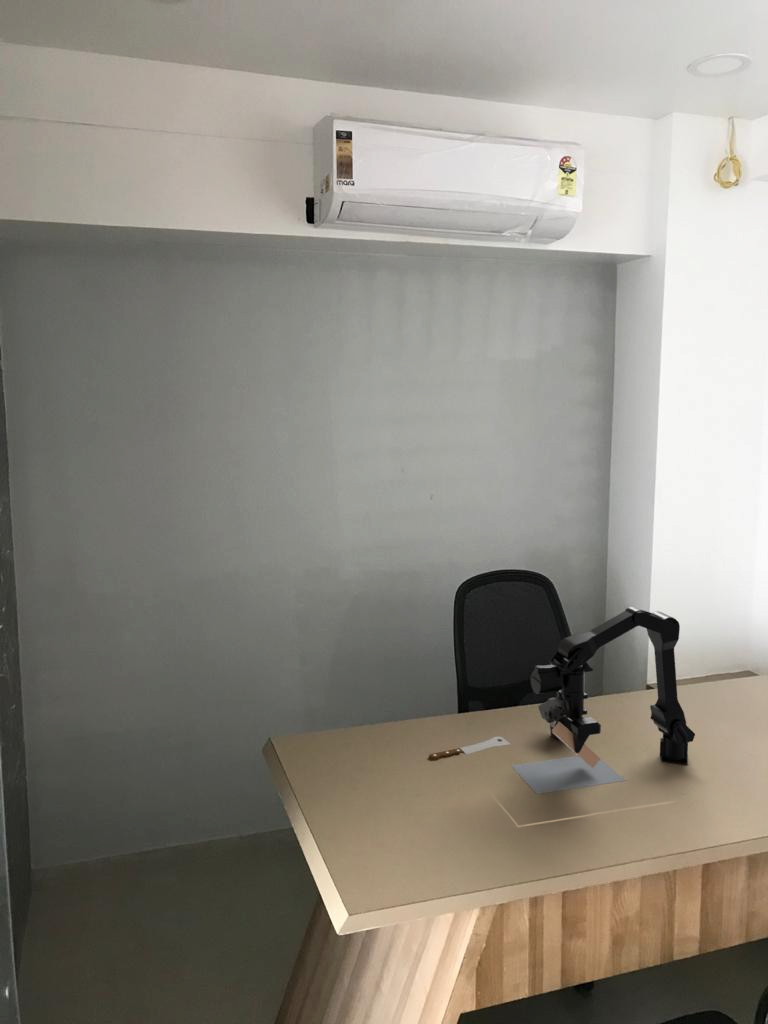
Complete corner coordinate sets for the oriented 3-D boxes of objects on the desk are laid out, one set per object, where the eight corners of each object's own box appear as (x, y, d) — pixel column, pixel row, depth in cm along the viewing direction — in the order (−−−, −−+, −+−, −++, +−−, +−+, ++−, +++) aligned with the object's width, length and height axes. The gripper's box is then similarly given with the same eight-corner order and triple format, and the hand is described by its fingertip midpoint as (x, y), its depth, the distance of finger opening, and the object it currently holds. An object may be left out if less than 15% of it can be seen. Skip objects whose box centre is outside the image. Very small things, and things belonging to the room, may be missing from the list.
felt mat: (594, 754, 231) (594, 753, 231) (626, 781, 216) (626, 780, 216) (510, 766, 225) (510, 765, 225) (537, 795, 210) (537, 793, 210)
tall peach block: (589, 749, 224) (559, 721, 221) (600, 758, 219) (569, 730, 215) (581, 759, 224) (550, 731, 220) (592, 768, 219) (560, 739, 215)
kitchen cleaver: (442, 768, 224) (424, 750, 233) (442, 771, 224) (424, 754, 233) (522, 750, 234) (501, 735, 243) (521, 754, 234) (501, 738, 243)
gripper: (527, 679, 224) (526, 737, 226) (560, 706, 206) (559, 768, 209) (566, 675, 227) (565, 731, 229) (602, 700, 209) (601, 761, 212)
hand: (571, 747), depth 220 cm, fingers closed on tall peach block, 5 cm apart
